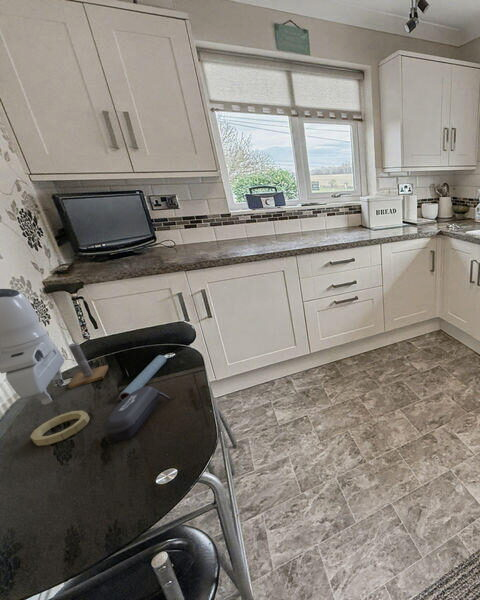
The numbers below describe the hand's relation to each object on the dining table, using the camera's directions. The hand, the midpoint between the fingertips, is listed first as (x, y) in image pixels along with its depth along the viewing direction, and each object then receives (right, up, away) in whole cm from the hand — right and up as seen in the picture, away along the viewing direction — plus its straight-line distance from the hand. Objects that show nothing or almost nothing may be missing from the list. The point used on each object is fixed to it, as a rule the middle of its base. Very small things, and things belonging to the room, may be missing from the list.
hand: (54, 393), depth 89 cm
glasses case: (+23, -8, +1) cm, 24 cm away
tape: (+3, -10, -1) cm, 11 cm away
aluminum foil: (+8, -2, +20) cm, 22 cm away
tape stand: (-13, -2, +24) cm, 28 cm away
